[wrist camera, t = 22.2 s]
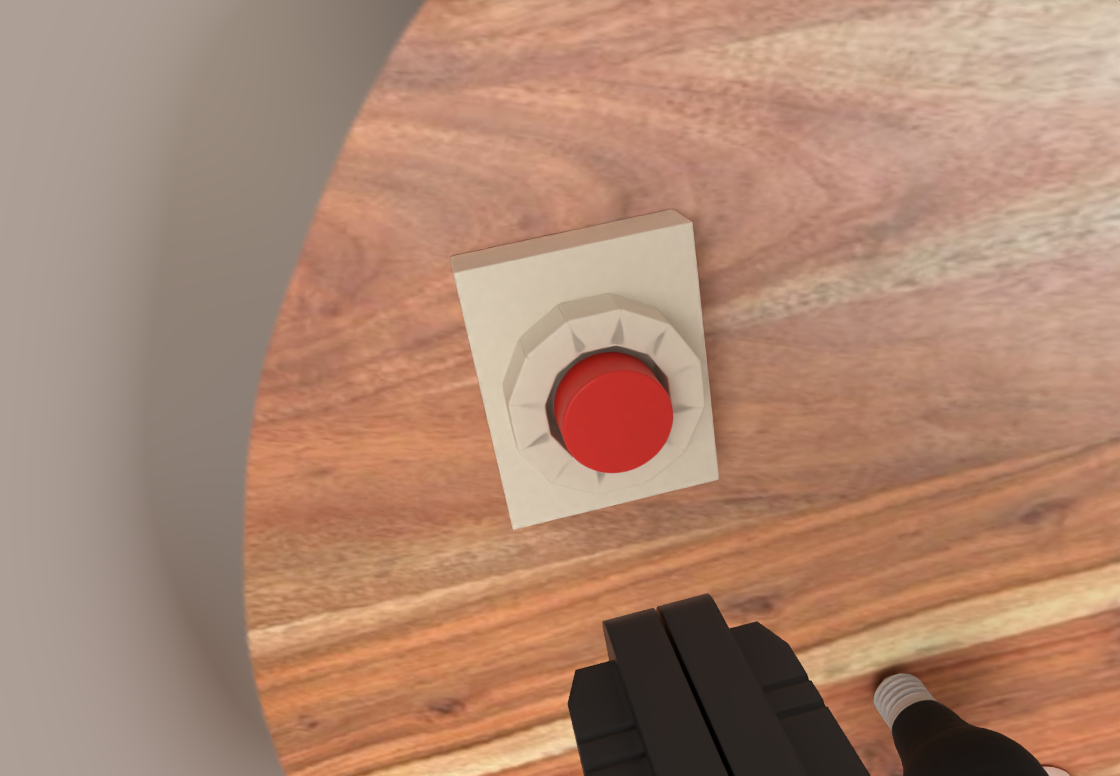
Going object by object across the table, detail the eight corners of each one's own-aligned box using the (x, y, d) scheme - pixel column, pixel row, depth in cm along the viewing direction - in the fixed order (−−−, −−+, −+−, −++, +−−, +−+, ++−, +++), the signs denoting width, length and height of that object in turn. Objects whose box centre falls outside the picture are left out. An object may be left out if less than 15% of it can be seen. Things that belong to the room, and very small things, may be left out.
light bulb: (815, 669, 39) (939, 862, 30) (926, 612, 39) (1085, 788, 30) (851, 744, 42) (976, 943, 33) (956, 691, 41) (1110, 876, 32)
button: (544, 364, 27) (553, 385, 25) (652, 340, 27) (667, 359, 25) (562, 460, 28) (572, 485, 27) (664, 436, 28) (680, 460, 27)
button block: (449, 256, 28) (456, 289, 25) (673, 208, 29) (711, 233, 25) (506, 500, 33) (519, 558, 29) (700, 453, 33) (737, 505, 30)
